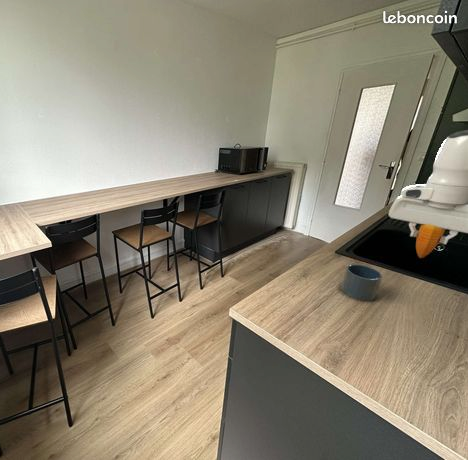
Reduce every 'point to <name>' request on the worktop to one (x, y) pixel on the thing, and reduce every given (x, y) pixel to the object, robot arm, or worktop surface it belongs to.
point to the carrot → (428, 239)
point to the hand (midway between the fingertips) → (427, 239)
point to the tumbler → (361, 282)
